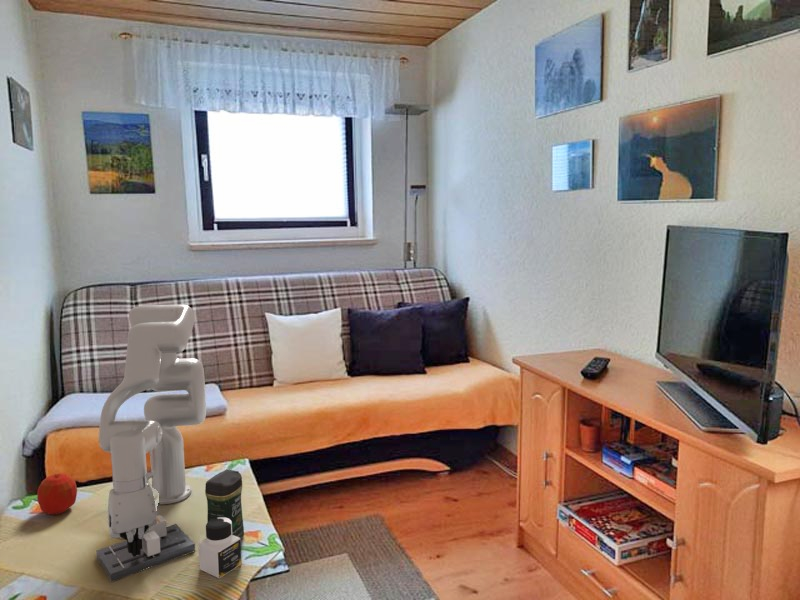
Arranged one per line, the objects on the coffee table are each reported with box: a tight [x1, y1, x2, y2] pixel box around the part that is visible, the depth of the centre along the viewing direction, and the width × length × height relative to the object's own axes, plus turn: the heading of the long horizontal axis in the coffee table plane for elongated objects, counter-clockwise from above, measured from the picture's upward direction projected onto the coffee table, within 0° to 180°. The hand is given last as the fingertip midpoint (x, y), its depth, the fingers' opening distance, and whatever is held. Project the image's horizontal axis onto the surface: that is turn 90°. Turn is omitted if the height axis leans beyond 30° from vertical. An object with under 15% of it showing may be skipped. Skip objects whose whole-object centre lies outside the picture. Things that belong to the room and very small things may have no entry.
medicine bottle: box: [198, 517, 242, 579], centre depth 145 cm, size 7×7×12 cm
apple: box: [36, 473, 78, 516], centre depth 173 cm, size 10×10×12 cm
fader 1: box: [149, 514, 167, 537], centre depth 156 cm, size 4×3×4 cm
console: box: [95, 523, 196, 583], centre depth 151 cm, size 13×20×2 cm, turn 130°
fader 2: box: [142, 531, 160, 557], centre depth 148 cm, size 4×3×4 cm
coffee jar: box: [204, 469, 245, 540], centre depth 156 cm, size 10×8×19 cm
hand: (135, 553), depth 146 cm, fingers closed
